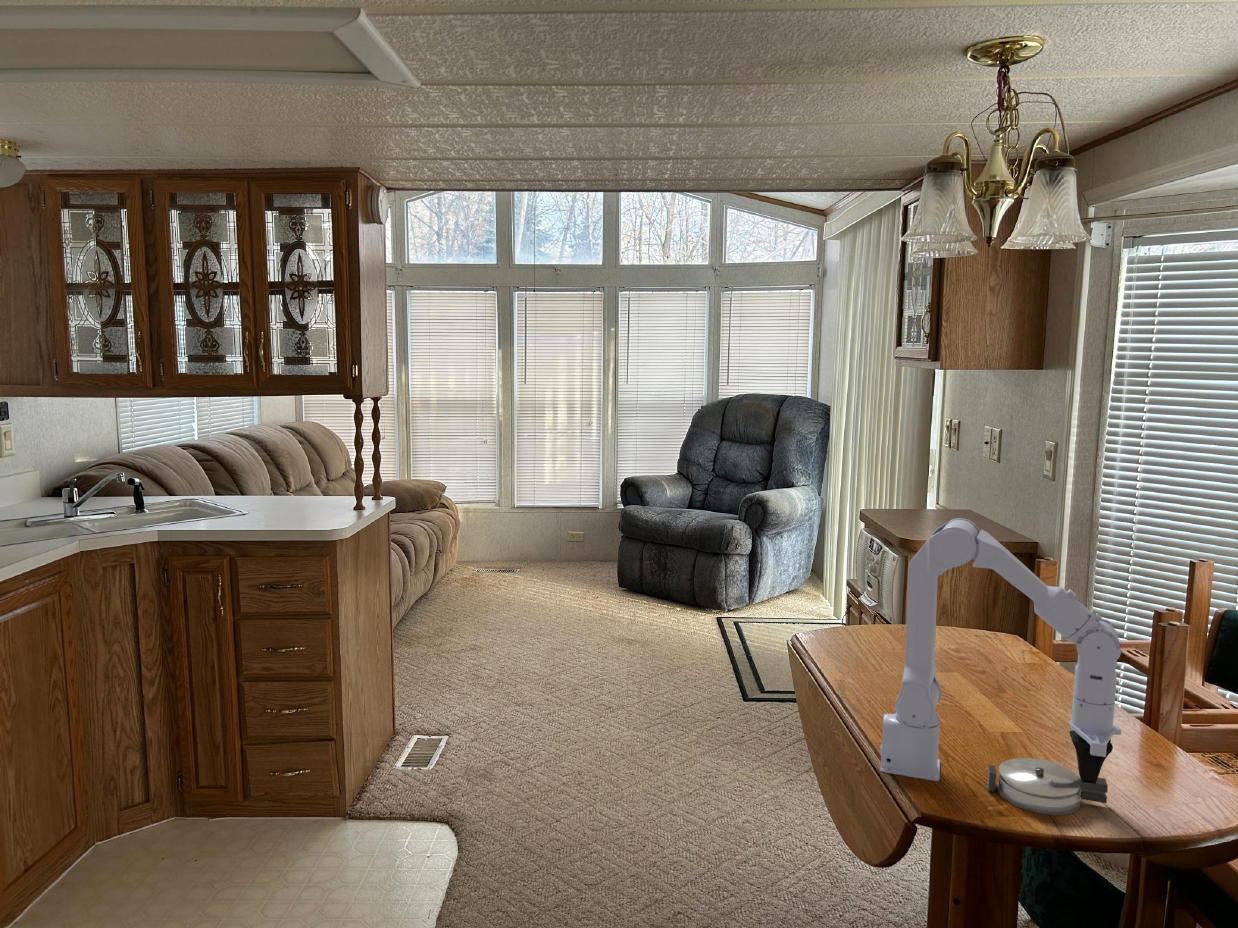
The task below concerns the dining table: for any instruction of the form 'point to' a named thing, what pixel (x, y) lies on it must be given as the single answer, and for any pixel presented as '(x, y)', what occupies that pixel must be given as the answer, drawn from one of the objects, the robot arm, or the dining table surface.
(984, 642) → the dining table surface
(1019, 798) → the pot
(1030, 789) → the lid
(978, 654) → the dining table surface
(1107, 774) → the dining table surface
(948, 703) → the dining table surface
